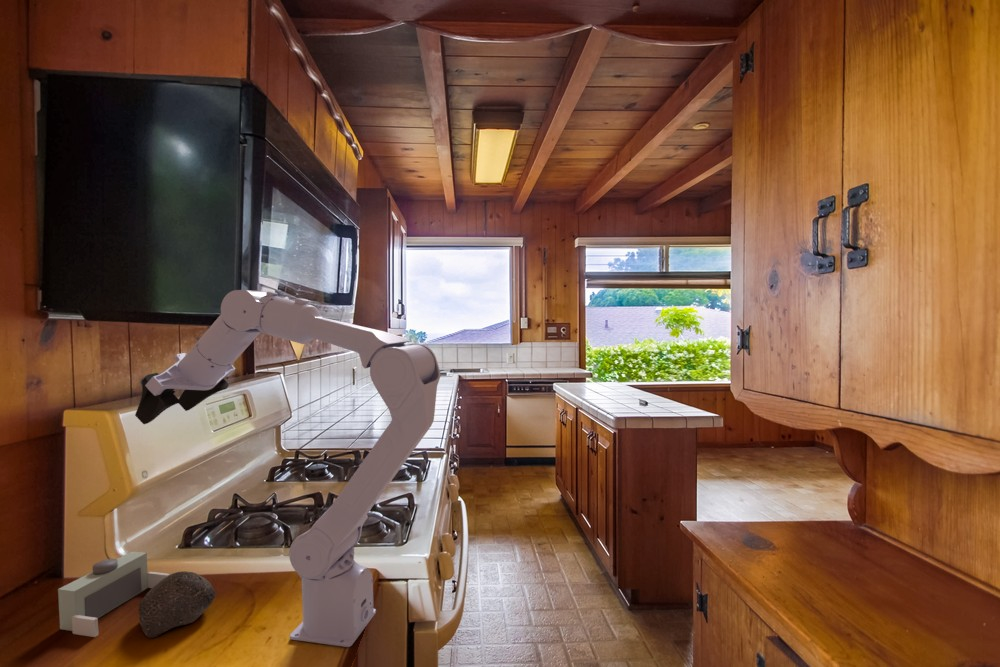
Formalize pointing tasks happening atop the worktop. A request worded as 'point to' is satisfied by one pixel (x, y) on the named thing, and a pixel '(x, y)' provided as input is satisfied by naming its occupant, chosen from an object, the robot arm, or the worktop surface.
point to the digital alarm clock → (103, 591)
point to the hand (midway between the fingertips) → (163, 412)
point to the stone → (174, 602)
